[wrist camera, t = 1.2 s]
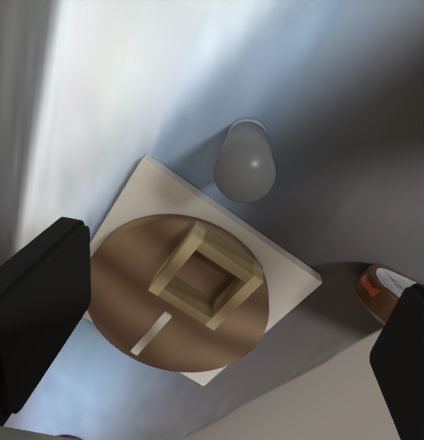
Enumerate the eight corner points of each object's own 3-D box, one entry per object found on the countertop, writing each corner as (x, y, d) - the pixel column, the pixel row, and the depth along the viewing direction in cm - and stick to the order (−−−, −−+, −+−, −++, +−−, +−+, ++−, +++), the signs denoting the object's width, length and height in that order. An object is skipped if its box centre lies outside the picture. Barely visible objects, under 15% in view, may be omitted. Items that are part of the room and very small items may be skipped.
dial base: (147, 153, 29) (141, 158, 28) (319, 274, 33) (322, 284, 31) (61, 292, 38) (54, 302, 37) (205, 375, 42) (203, 387, 40)
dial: (145, 173, 28) (128, 192, 24) (308, 285, 32) (317, 317, 28) (64, 302, 36) (41, 331, 32) (201, 380, 40) (195, 416, 36)
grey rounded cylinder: (243, 108, 27) (238, 131, 18) (276, 134, 27) (288, 168, 18) (218, 143, 28) (202, 180, 19) (250, 166, 29) (249, 213, 20)
